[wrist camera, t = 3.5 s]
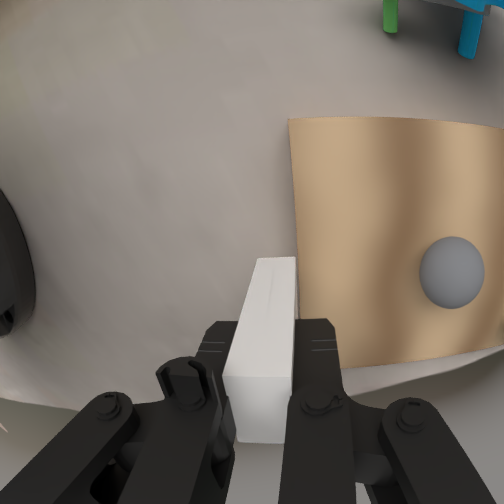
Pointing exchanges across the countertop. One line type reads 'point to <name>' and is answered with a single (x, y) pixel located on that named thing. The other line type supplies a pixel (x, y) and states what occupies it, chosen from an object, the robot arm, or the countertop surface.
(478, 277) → the grey ball
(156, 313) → the countertop surface
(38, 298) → the countertop surface
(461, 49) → the gear
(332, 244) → the board
